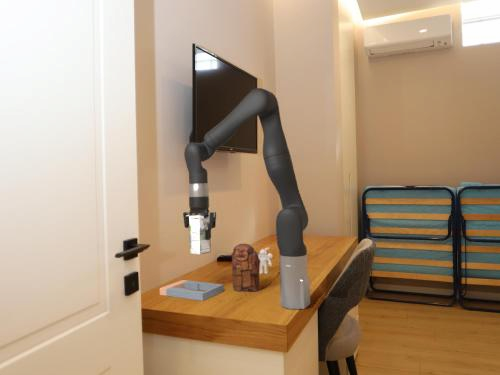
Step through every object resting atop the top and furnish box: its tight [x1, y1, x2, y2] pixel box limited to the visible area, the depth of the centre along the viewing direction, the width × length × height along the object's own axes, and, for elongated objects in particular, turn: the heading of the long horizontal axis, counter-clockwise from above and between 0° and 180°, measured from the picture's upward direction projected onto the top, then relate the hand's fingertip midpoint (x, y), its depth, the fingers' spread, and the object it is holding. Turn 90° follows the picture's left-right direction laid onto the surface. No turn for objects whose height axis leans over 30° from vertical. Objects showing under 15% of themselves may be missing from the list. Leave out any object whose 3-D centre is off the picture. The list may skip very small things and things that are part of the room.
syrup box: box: [188, 215, 211, 255], centre depth 150 cm, size 6×6×14 cm
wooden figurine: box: [231, 243, 260, 292], centre depth 155 cm, size 12×6×18 cm, turn 73°
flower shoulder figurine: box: [258, 247, 274, 275], centre depth 182 cm, size 9×4×12 cm, turn 74°
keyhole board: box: [159, 279, 224, 302], centre depth 152 cm, size 20×14×2 cm
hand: (200, 239), depth 150 cm, fingers closed on syrup box, 6 cm apart
